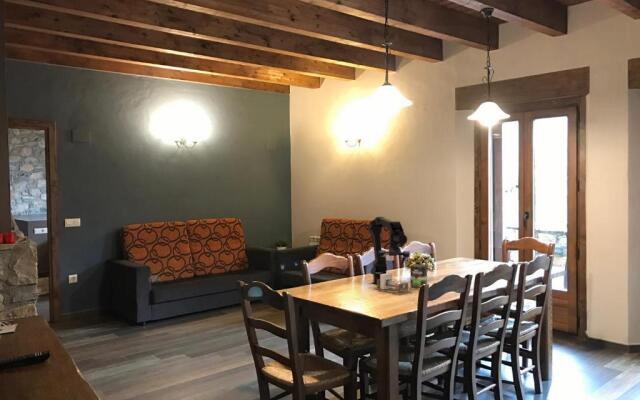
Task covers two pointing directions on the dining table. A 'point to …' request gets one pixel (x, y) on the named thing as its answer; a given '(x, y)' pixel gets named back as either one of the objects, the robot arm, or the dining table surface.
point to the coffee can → (418, 276)
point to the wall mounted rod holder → (390, 290)
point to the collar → (383, 280)
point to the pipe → (394, 284)
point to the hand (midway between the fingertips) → (393, 267)
